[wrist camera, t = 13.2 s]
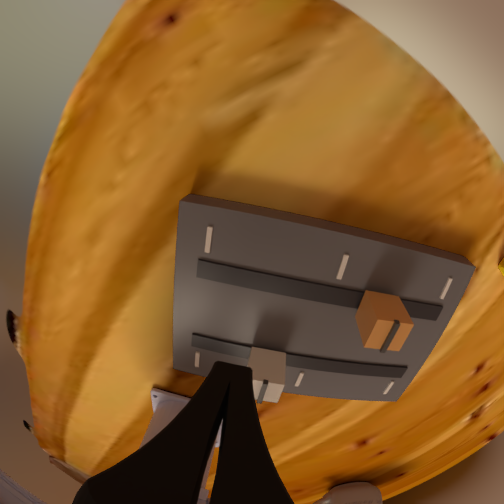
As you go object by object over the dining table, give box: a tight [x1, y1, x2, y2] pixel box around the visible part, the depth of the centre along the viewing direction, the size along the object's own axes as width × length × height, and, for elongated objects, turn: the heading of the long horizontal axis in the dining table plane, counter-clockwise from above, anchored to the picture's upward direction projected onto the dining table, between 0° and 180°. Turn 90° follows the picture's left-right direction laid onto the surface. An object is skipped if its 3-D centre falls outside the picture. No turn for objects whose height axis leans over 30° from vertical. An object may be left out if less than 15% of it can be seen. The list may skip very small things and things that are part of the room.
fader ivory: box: [247, 347, 286, 403], centre depth 18 cm, size 2×2×3 cm
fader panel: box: [173, 194, 476, 401], centre depth 19 cm, size 14×20×2 cm
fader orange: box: [355, 290, 414, 353], centre depth 15 cm, size 2×2×3 cm
